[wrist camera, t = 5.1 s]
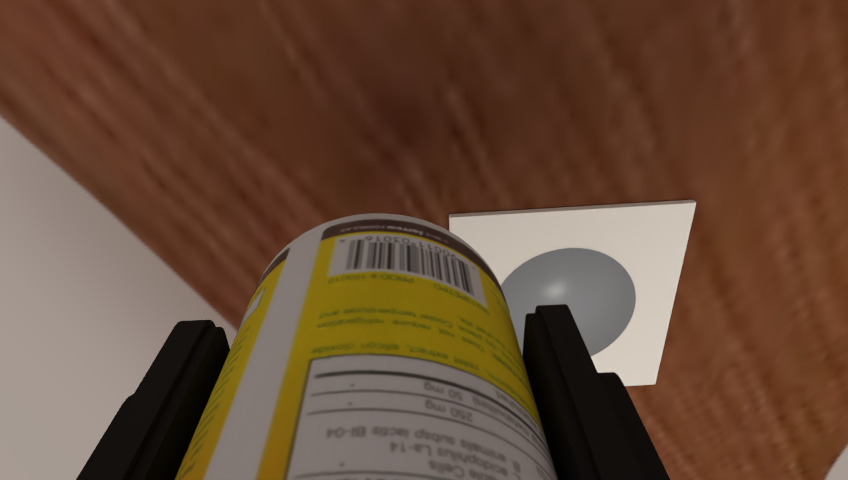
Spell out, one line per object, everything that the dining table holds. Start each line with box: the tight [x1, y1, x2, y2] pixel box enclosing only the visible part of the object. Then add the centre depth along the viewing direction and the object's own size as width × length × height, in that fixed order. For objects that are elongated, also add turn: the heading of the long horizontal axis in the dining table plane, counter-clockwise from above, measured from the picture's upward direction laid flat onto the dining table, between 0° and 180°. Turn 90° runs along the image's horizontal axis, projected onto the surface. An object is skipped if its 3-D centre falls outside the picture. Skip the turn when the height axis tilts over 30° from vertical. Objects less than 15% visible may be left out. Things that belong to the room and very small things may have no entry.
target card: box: [449, 200, 696, 386], centre depth 31 cm, size 13×13×1 cm
